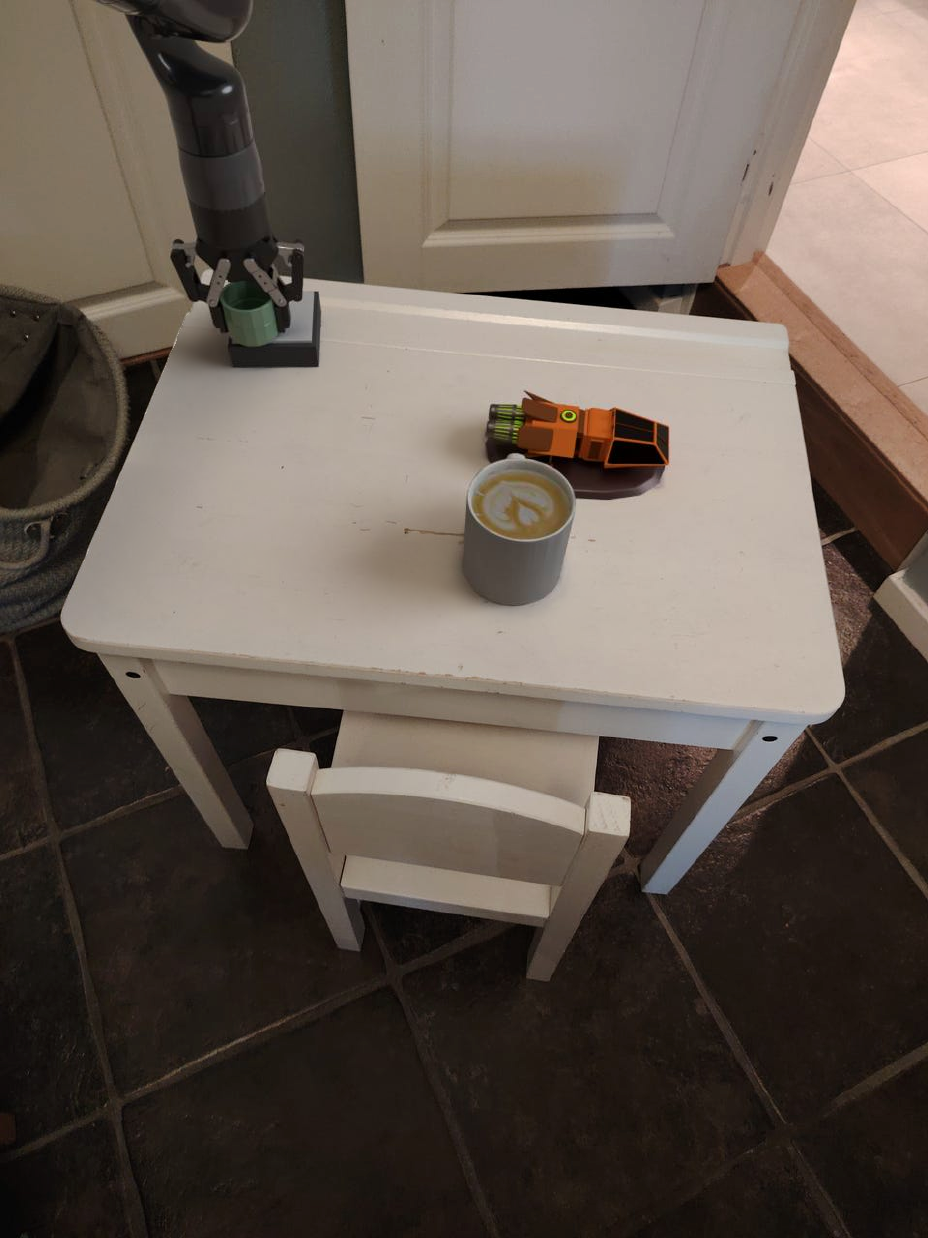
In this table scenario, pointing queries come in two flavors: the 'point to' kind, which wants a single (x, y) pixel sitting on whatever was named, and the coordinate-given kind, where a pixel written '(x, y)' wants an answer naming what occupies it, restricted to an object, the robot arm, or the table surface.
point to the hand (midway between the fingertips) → (254, 328)
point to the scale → (287, 340)
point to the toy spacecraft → (582, 445)
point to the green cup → (249, 314)
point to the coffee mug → (516, 530)
